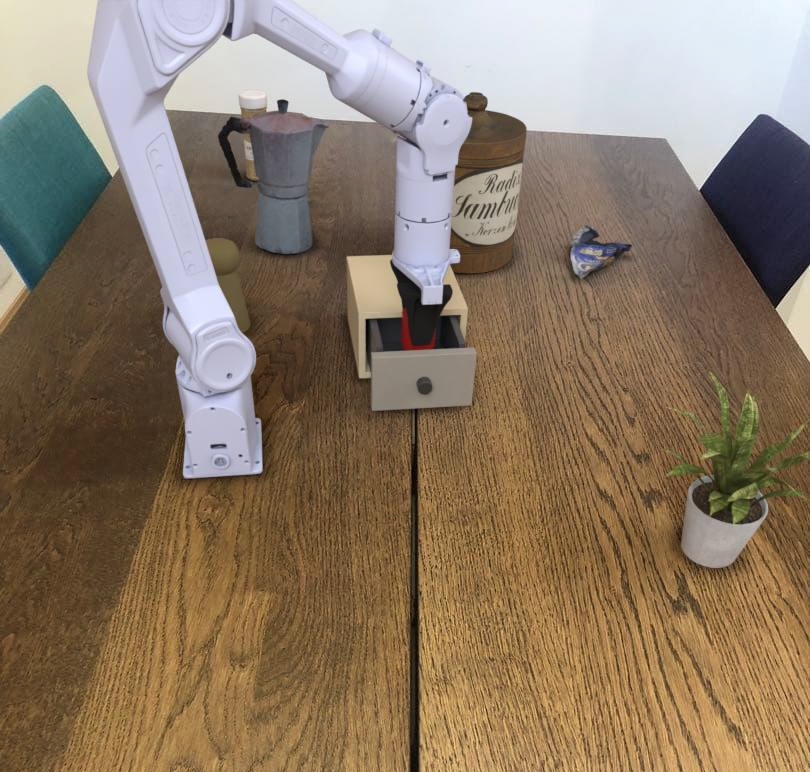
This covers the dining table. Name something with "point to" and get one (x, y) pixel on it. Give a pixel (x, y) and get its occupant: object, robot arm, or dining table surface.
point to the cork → (229, 277)
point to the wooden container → (487, 188)
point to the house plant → (730, 486)
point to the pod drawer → (419, 367)
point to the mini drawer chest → (384, 300)
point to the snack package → (593, 251)
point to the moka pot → (279, 174)
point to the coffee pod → (405, 336)
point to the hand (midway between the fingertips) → (417, 333)
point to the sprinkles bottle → (249, 106)
